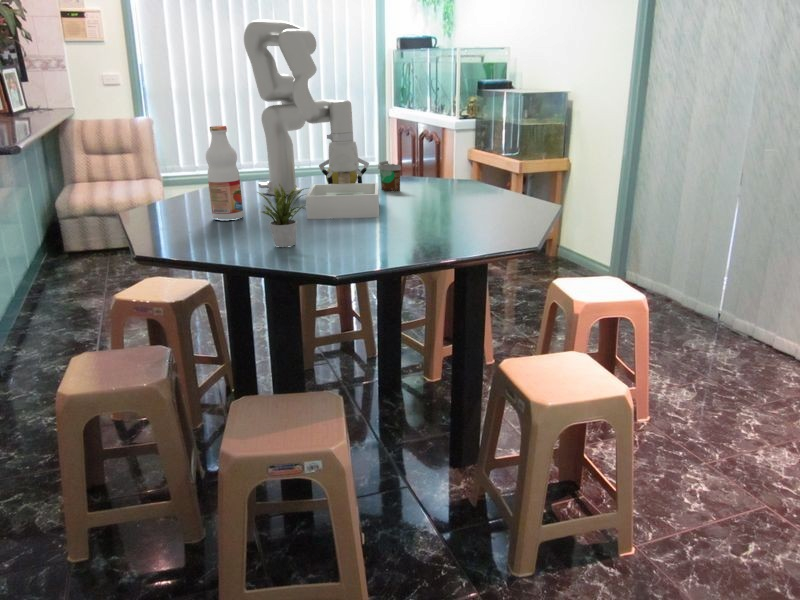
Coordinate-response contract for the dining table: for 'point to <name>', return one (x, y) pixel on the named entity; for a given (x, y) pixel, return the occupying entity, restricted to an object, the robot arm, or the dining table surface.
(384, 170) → the food container
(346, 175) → the peg
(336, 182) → the fruit
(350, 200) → the box
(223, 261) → the dining table surface
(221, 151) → the fruit juice
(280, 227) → the house plant
